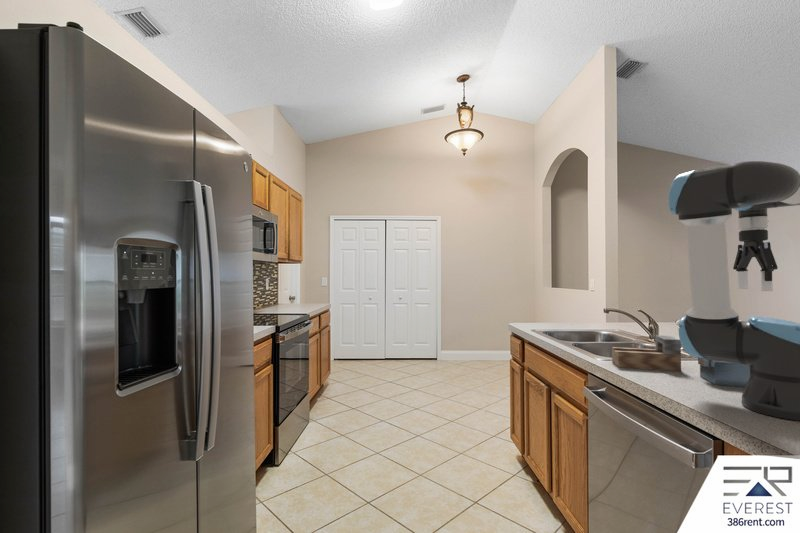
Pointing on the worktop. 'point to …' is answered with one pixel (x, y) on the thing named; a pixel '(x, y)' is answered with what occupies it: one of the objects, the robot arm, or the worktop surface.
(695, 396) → the worktop surface
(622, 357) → the wooden box
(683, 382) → the worktop surface
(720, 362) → the v block
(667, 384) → the worktop surface
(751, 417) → the worktop surface
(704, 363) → the steel bar
